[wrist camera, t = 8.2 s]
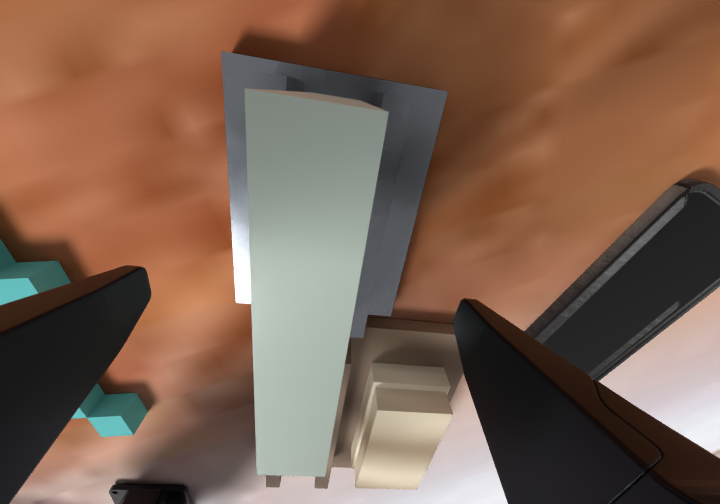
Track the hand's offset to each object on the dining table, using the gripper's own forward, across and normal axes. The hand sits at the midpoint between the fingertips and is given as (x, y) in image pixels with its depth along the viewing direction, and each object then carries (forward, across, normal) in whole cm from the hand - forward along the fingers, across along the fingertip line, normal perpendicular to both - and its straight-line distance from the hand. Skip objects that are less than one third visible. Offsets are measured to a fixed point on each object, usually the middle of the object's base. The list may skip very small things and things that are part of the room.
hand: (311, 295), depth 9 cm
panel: (+7, 0, 0) cm, 7 cm away
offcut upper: (+5, -6, +15) cm, 17 cm away
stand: (+8, 0, 0) cm, 8 cm away
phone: (+8, -20, +4) cm, 22 cm away
